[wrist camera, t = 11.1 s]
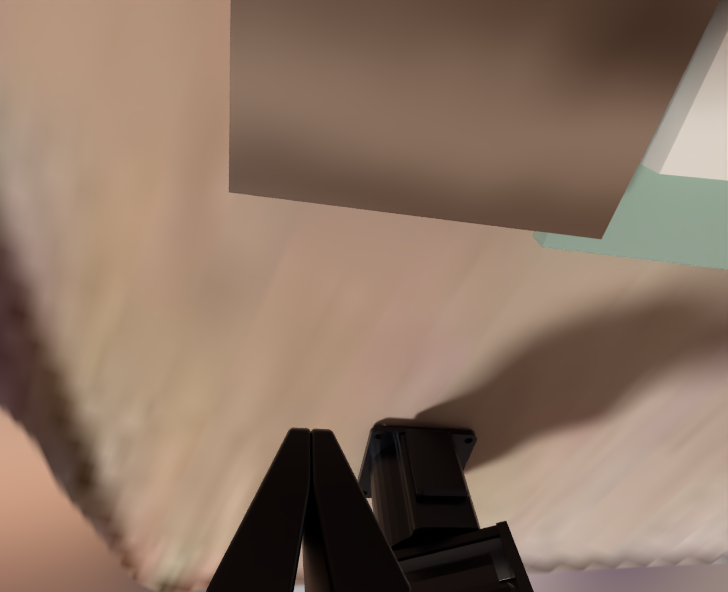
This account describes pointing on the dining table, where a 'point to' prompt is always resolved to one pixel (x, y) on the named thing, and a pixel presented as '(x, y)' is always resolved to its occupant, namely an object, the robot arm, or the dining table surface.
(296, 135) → the walnut deck
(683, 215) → the sage mat
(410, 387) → the dining table surface
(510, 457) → the dining table surface
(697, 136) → the ivory tile
